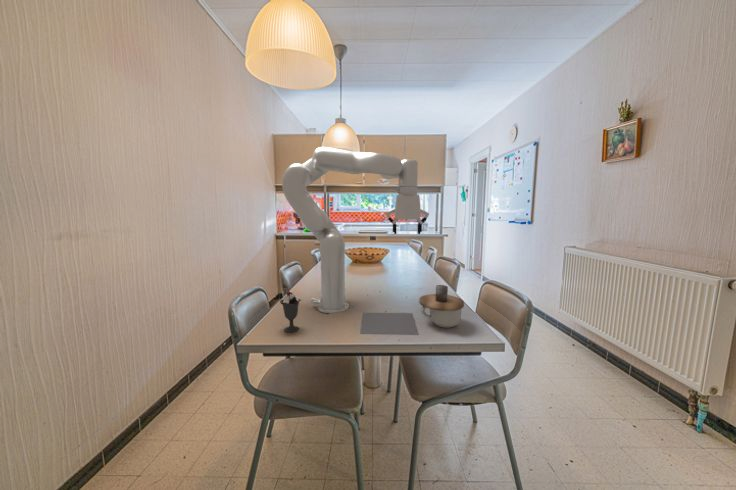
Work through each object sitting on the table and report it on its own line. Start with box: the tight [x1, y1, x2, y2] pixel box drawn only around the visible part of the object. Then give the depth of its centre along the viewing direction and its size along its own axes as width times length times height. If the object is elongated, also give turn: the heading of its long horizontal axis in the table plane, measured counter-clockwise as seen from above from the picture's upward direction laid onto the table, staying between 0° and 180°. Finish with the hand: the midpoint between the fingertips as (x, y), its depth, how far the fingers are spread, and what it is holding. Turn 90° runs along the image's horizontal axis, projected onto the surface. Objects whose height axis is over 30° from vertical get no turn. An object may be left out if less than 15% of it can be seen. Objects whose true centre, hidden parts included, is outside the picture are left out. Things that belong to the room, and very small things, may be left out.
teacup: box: [420, 305, 463, 329], centre depth 101 cm, size 14×11×8 cm
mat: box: [359, 311, 420, 336], centre depth 102 cm, size 19×19×1 cm
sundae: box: [279, 285, 302, 334], centre depth 96 cm, size 7×7×15 cm
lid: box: [418, 284, 465, 311], centre depth 100 cm, size 15×15×6 cm
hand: (407, 233), depth 118 cm, fingers open, 9 cm apart
